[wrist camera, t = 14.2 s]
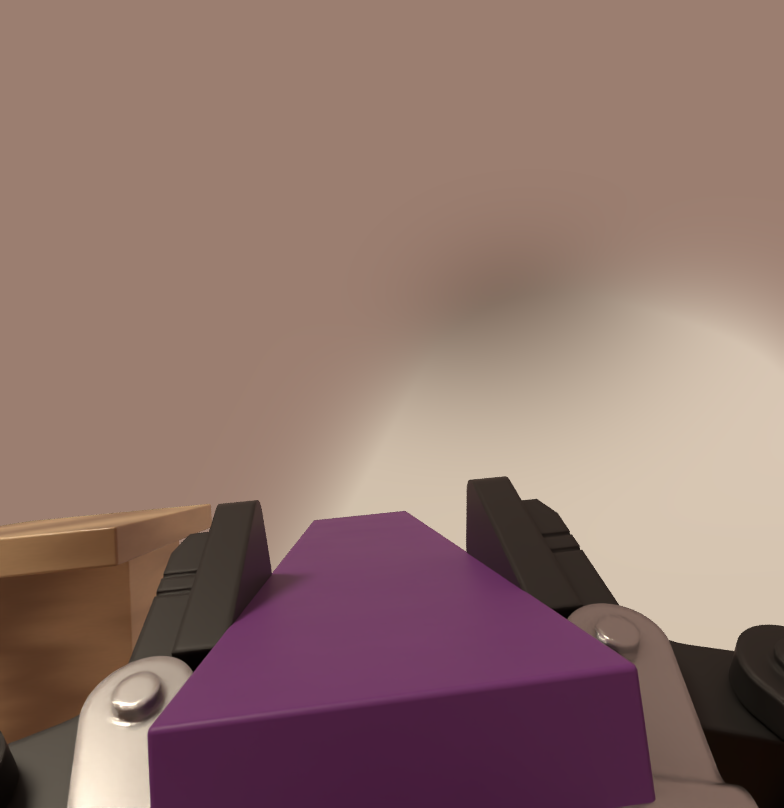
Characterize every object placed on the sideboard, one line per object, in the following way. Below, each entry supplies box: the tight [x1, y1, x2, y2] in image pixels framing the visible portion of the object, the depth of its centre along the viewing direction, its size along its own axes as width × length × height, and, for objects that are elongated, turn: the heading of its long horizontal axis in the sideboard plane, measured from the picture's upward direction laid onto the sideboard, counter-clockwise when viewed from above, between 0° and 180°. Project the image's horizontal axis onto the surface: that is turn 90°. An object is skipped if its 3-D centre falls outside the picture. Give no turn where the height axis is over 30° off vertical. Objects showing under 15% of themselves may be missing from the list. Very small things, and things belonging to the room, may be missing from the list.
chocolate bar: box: [147, 511, 656, 808], centre depth 14 cm, size 20×4×1 cm, turn 4°
